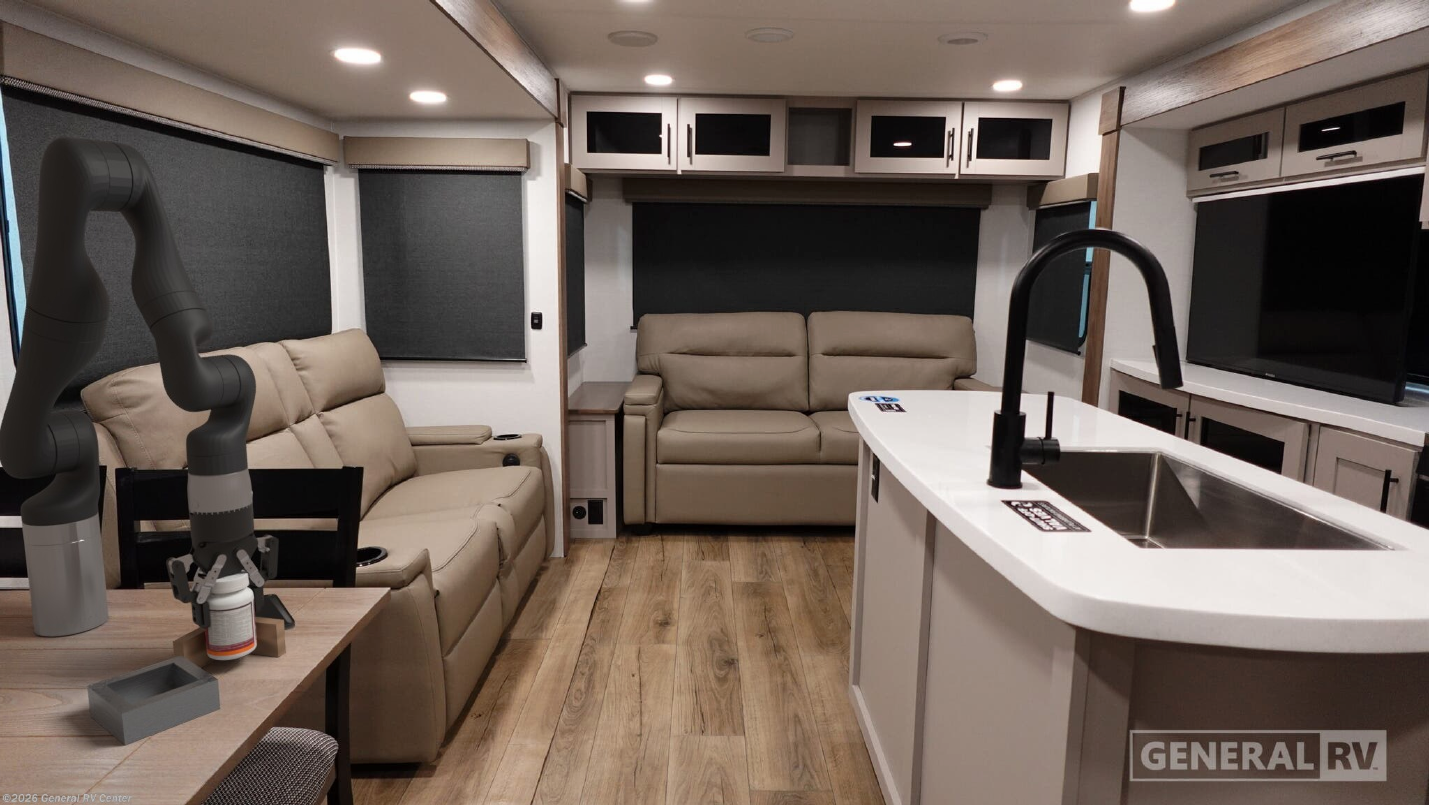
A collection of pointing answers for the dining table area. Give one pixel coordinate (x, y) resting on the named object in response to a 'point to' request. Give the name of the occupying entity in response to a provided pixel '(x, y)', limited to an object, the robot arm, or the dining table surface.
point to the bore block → (153, 699)
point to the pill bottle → (231, 618)
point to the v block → (267, 644)
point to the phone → (276, 611)
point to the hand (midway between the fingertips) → (229, 618)
